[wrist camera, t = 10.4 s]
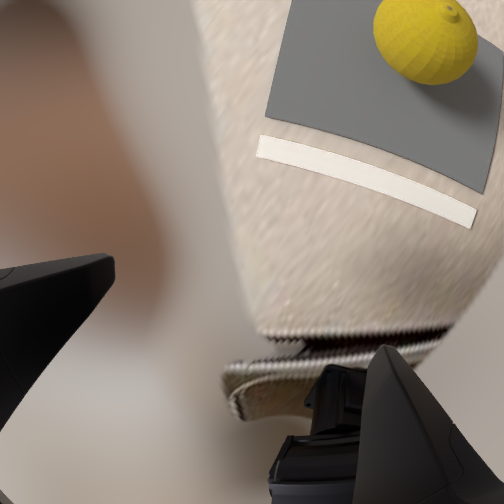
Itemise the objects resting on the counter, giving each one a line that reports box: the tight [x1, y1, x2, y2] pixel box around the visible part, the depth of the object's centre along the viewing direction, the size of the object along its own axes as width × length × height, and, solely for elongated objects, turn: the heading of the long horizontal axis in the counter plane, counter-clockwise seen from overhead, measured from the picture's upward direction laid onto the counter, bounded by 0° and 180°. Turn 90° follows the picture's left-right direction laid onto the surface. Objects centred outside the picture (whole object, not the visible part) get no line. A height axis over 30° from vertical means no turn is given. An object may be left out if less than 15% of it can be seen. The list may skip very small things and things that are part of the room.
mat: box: [265, 0, 503, 194], centre depth 13 cm, size 12×16×1 cm
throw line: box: [256, 135, 477, 229], centre depth 16 cm, size 2×16×1 cm, turn 78°
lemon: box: [373, 0, 478, 85], centre depth 9 cm, size 6×6×8 cm
